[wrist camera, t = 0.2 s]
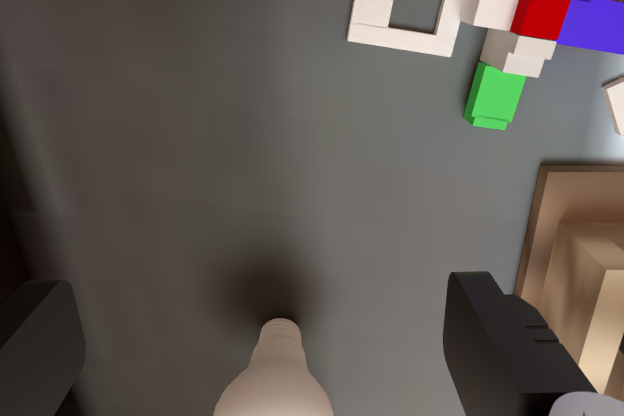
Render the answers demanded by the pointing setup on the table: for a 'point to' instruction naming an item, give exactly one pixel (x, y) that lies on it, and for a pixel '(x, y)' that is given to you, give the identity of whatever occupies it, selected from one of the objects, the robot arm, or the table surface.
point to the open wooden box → (587, 295)
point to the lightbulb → (275, 379)
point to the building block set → (505, 45)
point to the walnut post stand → (569, 208)
